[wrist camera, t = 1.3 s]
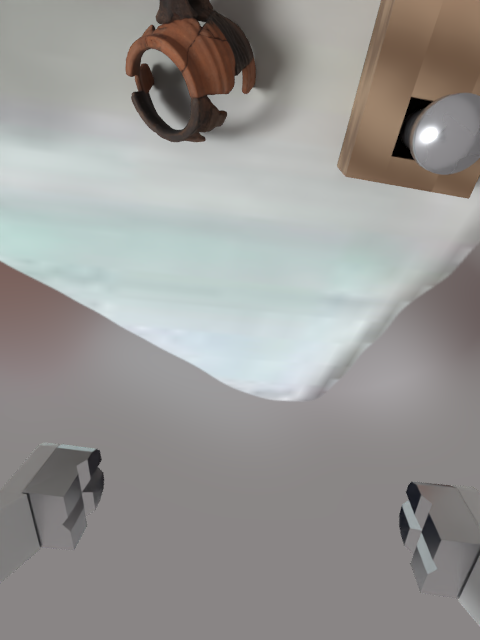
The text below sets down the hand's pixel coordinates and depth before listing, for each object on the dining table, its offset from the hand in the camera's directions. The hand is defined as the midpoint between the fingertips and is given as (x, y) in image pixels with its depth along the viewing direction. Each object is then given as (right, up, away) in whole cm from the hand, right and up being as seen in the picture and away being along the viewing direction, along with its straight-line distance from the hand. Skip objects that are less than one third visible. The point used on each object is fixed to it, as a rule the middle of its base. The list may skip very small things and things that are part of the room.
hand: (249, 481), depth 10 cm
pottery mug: (-4, +27, +22) cm, 35 cm away
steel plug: (+14, +19, +19) cm, 31 cm away
